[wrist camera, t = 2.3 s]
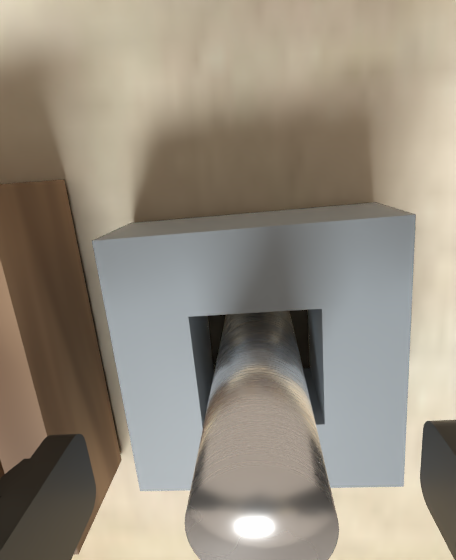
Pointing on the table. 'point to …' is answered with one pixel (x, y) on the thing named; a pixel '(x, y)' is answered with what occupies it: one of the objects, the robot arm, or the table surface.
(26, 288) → the walnut rack
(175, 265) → the socket block
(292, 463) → the steel rod
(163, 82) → the table surface
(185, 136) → the table surface
